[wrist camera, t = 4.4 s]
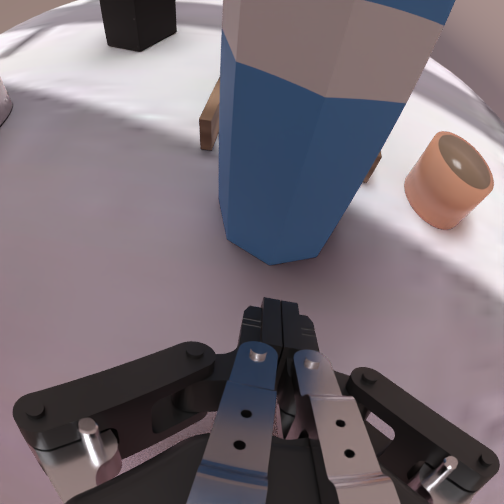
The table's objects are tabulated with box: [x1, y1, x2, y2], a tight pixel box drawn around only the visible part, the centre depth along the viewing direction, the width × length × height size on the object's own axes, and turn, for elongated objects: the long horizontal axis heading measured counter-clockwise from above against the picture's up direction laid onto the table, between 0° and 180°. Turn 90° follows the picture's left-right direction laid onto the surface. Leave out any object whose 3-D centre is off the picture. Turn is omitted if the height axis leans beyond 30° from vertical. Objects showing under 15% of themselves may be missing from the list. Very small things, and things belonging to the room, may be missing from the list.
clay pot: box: [404, 131, 494, 230], centre depth 24 cm, size 7×7×6 cm
